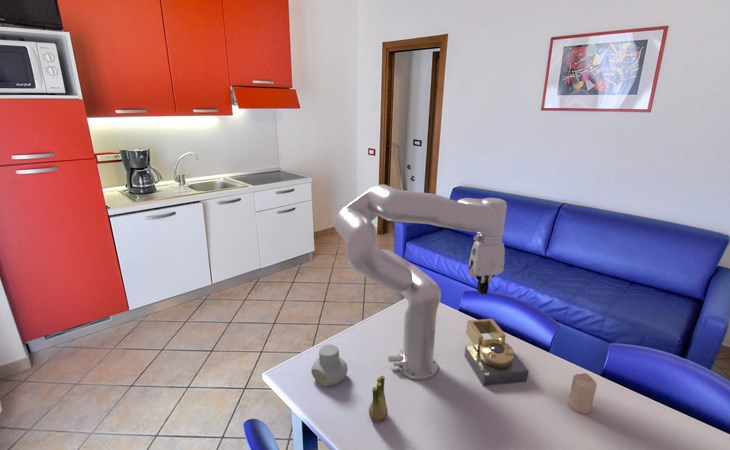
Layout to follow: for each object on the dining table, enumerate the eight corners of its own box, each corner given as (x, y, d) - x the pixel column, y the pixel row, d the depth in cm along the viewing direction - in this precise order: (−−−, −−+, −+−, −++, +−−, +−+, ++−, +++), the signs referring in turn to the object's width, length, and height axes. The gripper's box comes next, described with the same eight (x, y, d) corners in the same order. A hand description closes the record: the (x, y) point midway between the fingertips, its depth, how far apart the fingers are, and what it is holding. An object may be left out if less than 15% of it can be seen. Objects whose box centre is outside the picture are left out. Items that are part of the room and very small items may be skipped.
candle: (569, 396, 105) (575, 367, 102) (591, 404, 102) (598, 375, 99) (566, 408, 101) (572, 378, 98) (589, 417, 98) (596, 387, 95)
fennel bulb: (374, 428, 94) (375, 391, 91) (363, 416, 98) (363, 379, 95) (392, 418, 98) (393, 381, 94) (380, 406, 102) (381, 370, 98)
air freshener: (307, 377, 112) (305, 349, 109) (325, 363, 119) (324, 336, 116) (334, 393, 106) (333, 364, 103) (352, 377, 112) (351, 349, 109)
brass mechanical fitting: (518, 366, 111) (521, 351, 109) (487, 369, 110) (489, 354, 108) (492, 331, 128) (493, 318, 126) (464, 334, 127) (465, 320, 125)
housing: (483, 386, 109) (484, 374, 108) (464, 355, 122) (465, 345, 121) (526, 381, 111) (528, 370, 110) (503, 352, 124) (505, 341, 123)
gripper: (474, 244, 107) (468, 300, 112) (517, 240, 111) (509, 294, 116) (461, 236, 114) (455, 289, 119) (502, 232, 118) (494, 284, 123)
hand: (482, 292), depth 118 cm, fingers closed
